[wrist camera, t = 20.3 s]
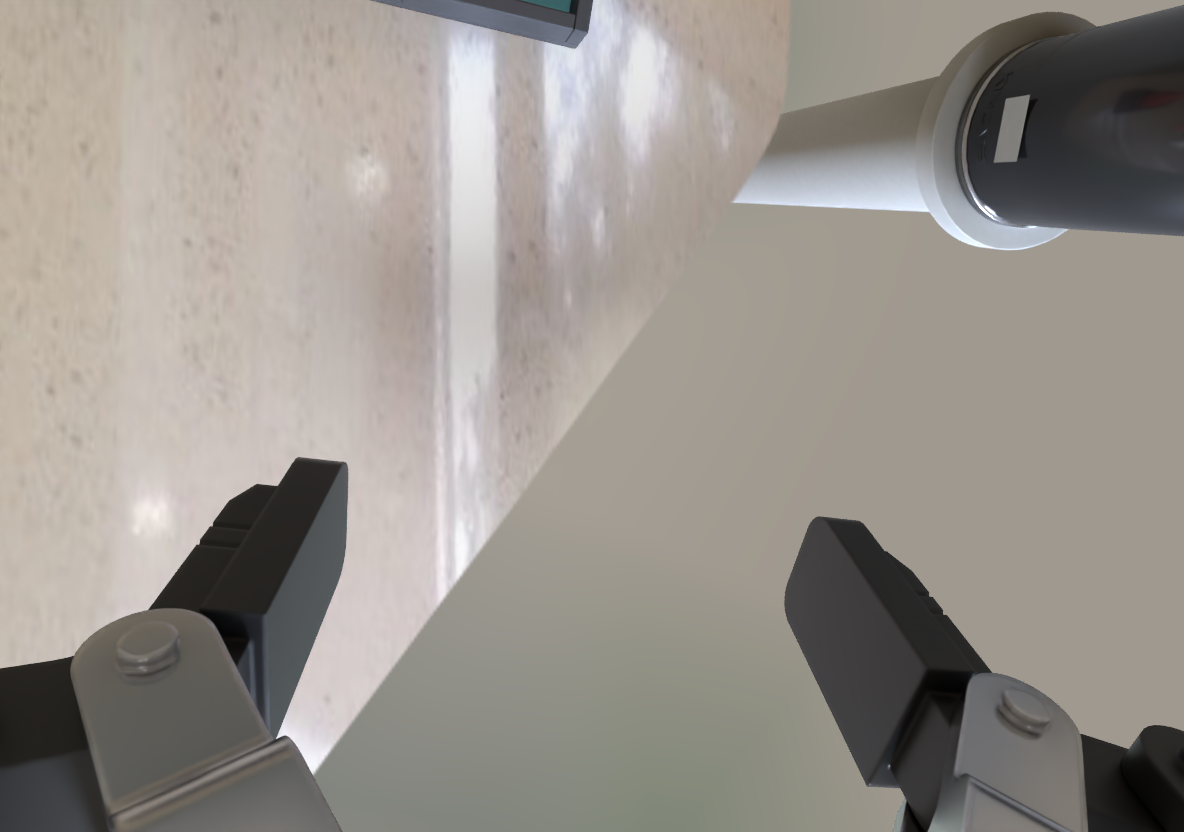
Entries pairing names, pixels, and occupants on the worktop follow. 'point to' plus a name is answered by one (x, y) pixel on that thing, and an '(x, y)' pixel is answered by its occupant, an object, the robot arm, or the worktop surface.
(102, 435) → the worktop surface
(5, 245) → the worktop surface
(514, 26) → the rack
